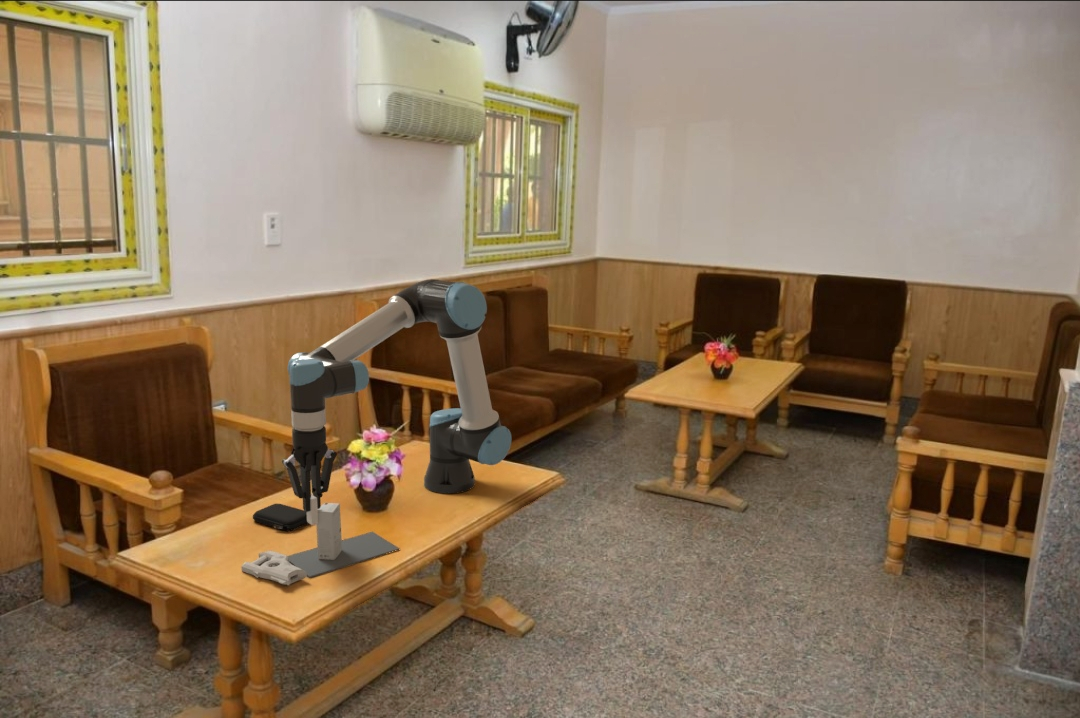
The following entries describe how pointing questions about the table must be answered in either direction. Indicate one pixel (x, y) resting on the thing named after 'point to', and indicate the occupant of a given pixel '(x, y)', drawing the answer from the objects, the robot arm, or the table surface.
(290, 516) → the carrying case or bag
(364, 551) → the mat
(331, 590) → the table surface
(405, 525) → the table surface
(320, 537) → the skincare box
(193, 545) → the table surface
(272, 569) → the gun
